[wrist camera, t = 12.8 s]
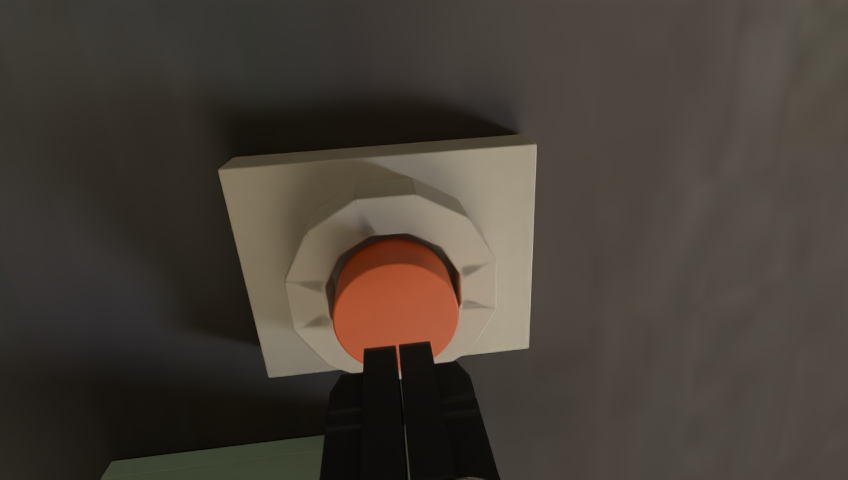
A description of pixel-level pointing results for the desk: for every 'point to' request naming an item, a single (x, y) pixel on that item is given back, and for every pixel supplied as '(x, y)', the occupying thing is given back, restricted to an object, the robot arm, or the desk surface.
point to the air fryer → (231, 463)
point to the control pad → (383, 238)
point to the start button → (394, 299)
